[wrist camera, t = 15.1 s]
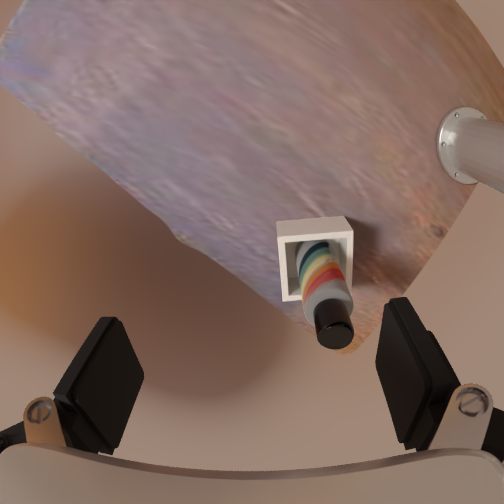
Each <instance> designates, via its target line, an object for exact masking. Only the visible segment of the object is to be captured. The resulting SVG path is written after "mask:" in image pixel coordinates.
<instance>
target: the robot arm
mask: <svg viewBox="0 0 504 504" xmlns="http://www.w3.org/2000/svg"><path fill="white" fill-rule="evenodd" d="M441 144H442V145H441ZM437 152H438V156H439V160H440V162H441V165H442V167H443V168H444V170H445V171H446V173H447V174H448V175H449V176H450V177H451V178H453V179H454V180H456V181H458V182H460V183H463V184H474V183H477V182H479V181H480V182H482V183H484V184H486V185H488V186H490V187H492V188H494V189H496V190H498V191H500V192H502V193H504V123H503V122H497V121H492V120H488V119H487V117H486V116H485V115H484V114H482V113H481V112H480V111H478V110H476V109H474V108H470V107H459V108H456V109H454V110H452V111H451V112H449V113H448V114H447V115H446V116H445V118H444V119H443V121H442V123H441V125H440V127H439V130H438V135H437ZM375 363H376V370H377V372H378V376H379V379H380V382H381V385H382V388H383V391H384V394H385V397H386V401H387V404H388V407H389V411H390V414H391V417H392V421H393V424H394V427H395V431H396V435H397V438H398V441H399V443H404V446H405V450H409V449H413V448H416V451H417V452H415V453H409V454H404V455H398V456H393V457H388V458H383V459H378V460H372V461H366V462H359V463H352V464H345V465H338V466H331V467H322V468H310V469H298V470H280V471H218V470H202V469H189V468H179V467H170V466H161V465H154V464H147V463H141V462H135V461H129V460H124V459H118V458H113V457H108V456H104V455H99V454H98V452H101V453H105V454H110V455H113V452H114V449H115V448H117V447H118V446H119V443H120V441H121V438H122V436H123V433H124V430H125V427H126V424H127V422H128V419H129V417H130V414H131V411H132V409H133V406H134V403H135V401H136V398H137V395H138V392H139V390H140V388H141V385H142V383H143V380H144V372H143V369H142V367H141V365H140V363H139V361H138V358H137V356H136V354H135V352H134V350H133V348H132V345H131V343H130V340H129V338H128V336H127V333H126V331H125V328H124V326H123V324H122V322H121V321H119V320H118V319H117V318H116V317H101V318H100V319H99V321H98V322H97V324H96V325H95V327H94V328H93V330H92V331H91V333H90V334H89V336H88V337H87V339H86V340H85V342H84V343H83V345H82V346H81V348H80V350H79V351H78V353H77V354H76V356H75V357H74V359H73V361H72V362H71V364H70V366H69V367H68V369H67V370H66V372H65V374H64V375H63V377H62V378H61V380H60V382H59V384H58V385H57V387H56V389H55V390H54V392H53V394H54V396H55V398H54V400H52V399H51V398H49V397H39V398H36V399H34V400H33V401H31V402H30V403H29V404H28V405H27V407H26V408H25V411H24V415H23V419H24V421H22V422H20V423H18V424H16V425H14V426H11V427H9V428H7V429H5V430H3V431H1V432H0V504H504V411H502V410H499V409H497V408H494V407H493V399H492V396H491V394H490V393H489V392H488V391H487V390H486V389H485V388H484V387H482V386H480V385H478V384H473V383H470V384H464V385H461V384H460V382H459V380H458V378H457V376H456V374H455V372H454V370H453V368H452V367H451V365H450V363H449V361H448V359H447V357H446V356H445V354H444V352H443V350H442V348H441V347H440V345H439V343H438V341H437V340H436V338H435V336H434V335H433V333H432V332H431V331H427V330H426V328H425V327H424V325H423V323H422V322H421V320H420V319H419V316H418V315H417V313H416V312H415V310H414V308H413V307H412V305H411V303H410V302H409V300H408V299H407V297H400V298H392V299H390V301H389V303H387V304H385V305H384V311H383V318H382V325H381V331H380V337H379V344H378V349H377V355H376V361H375Z"/></svg>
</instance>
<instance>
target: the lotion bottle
mask: <svg viewBox="0 0 504 504" xmlns="http://www.w3.org/2000/svg"><path fill="white" fill-rule="evenodd" d="M295 258H296V265H297V271H298V277H299V283H300V290H301V296H302V303H303V309H304V314H305V317H306V319H307V320H308V322H309V323H310V324H312V325H313V326H315V329H316V335H317V339H318V342H319V343H320V344H321V345H322V346H324V347H326V348H329V349H342V348H344V347H346V346H348V345H349V344H350V343H351V341H352V339H353V337H354V329H353V326H352V323H351V320H350V315H351V314H352V311H353V300H352V297H351V294H350V291H349V289H348V286H347V284H346V281H345V279H344V276H343V274H342V271H341V269H340V266H339V264H338V261H337V259H336V256H335V254H334V252H333V249H332V247H331V245H330V243H329V242H328V241H327V240H326V239H322V240H310V241H300V242H299V243H298V245H297V247H296V250H295Z"/></svg>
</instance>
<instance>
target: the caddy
mask: <svg viewBox="0 0 504 504" xmlns="http://www.w3.org/2000/svg"><path fill="white" fill-rule="evenodd" d="M276 225H277V238H278V250H279V261H280V273H281V285H282V298H283V301H295V300H302V296H301V290H300V283H299V277H298V271H297V265H296V258H295V250H296V247H297V245H298V243H299V242H300V241H310V240H322V239H326V240H327V241H328V242H329V243H330V245H331V247H332V249H333V252H334V254H335V256H336V259H337V261H338V264H339V266H340V269H341V271H342V274H343V276H344V279H345V281H346V284H347V286H348V289H349V291H350V294H351V290H352V268H353V229H352V228H351V226H350V225H349V223H348V222H347V220H346V219H345V217H344V216H335V217H321V218H309V219H296V220H284V221H276Z"/></svg>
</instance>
